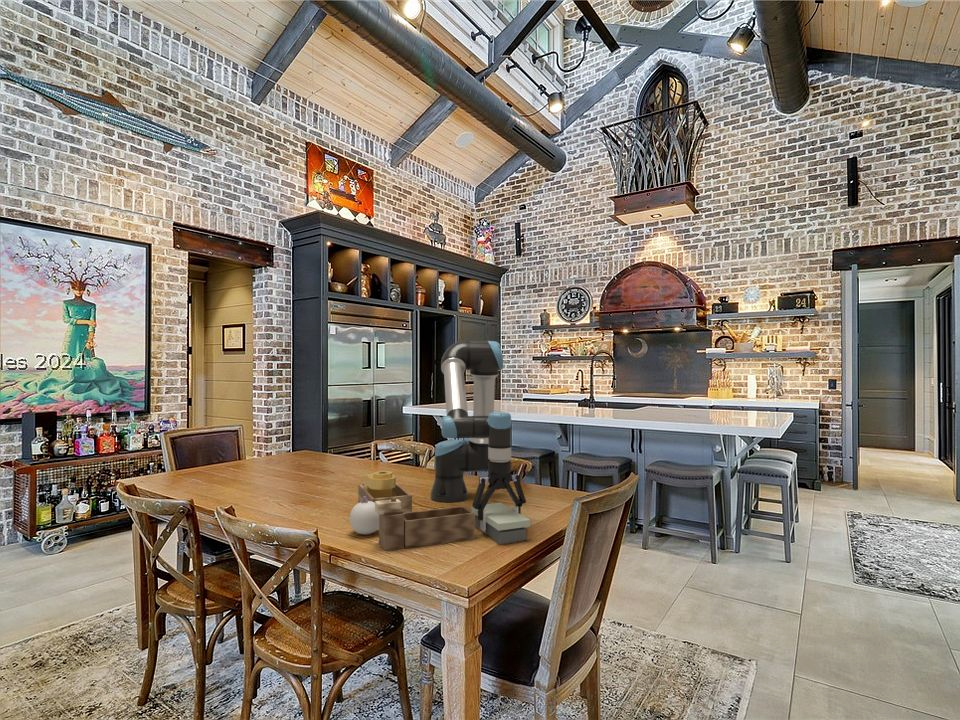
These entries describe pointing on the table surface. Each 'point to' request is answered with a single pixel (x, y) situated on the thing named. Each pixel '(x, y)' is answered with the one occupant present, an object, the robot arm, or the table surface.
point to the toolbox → (425, 527)
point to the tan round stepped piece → (380, 484)
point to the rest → (503, 533)
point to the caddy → (396, 492)
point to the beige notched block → (387, 505)
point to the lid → (503, 517)
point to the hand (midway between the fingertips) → (499, 527)
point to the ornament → (364, 517)
